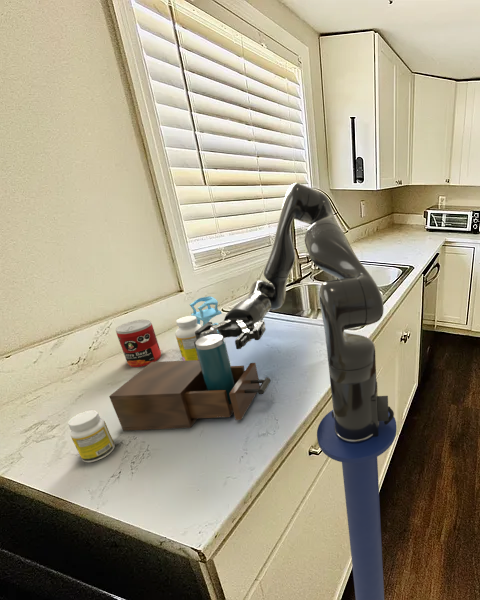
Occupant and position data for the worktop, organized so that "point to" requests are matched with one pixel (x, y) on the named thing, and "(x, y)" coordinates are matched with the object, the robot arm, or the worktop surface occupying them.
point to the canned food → (138, 342)
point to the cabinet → (156, 396)
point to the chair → (206, 310)
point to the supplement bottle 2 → (187, 337)
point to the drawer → (225, 395)
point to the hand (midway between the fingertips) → (217, 346)
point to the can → (215, 363)
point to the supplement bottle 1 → (91, 436)
